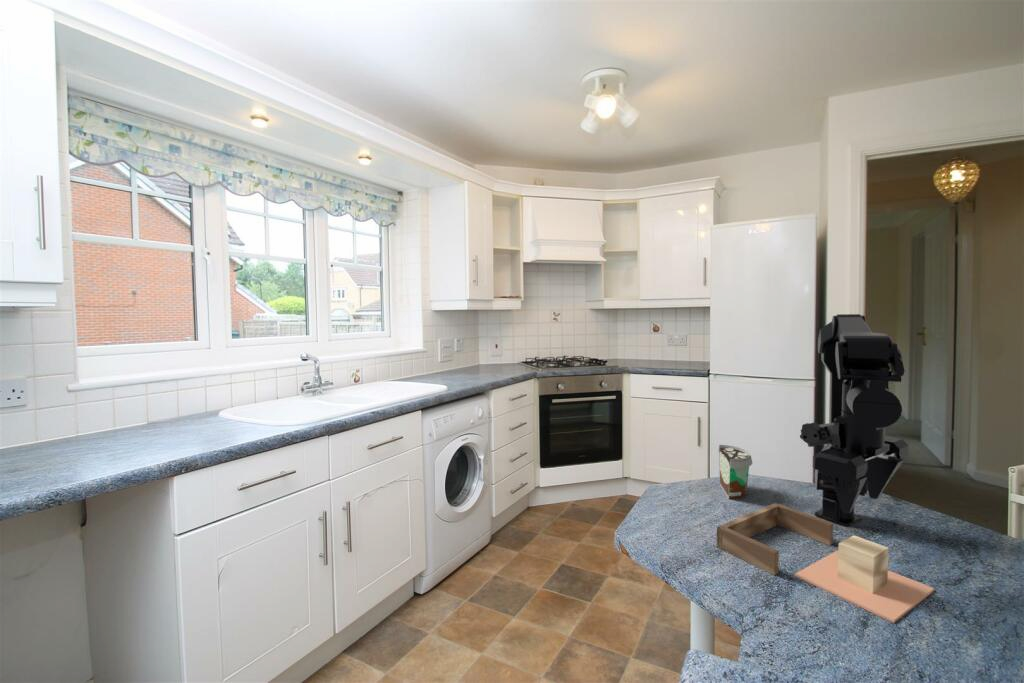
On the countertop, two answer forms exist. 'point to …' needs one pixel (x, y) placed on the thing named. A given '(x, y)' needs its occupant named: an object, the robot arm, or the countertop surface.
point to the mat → (883, 602)
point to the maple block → (863, 563)
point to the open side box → (741, 529)
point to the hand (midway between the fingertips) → (860, 504)
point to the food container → (734, 470)
